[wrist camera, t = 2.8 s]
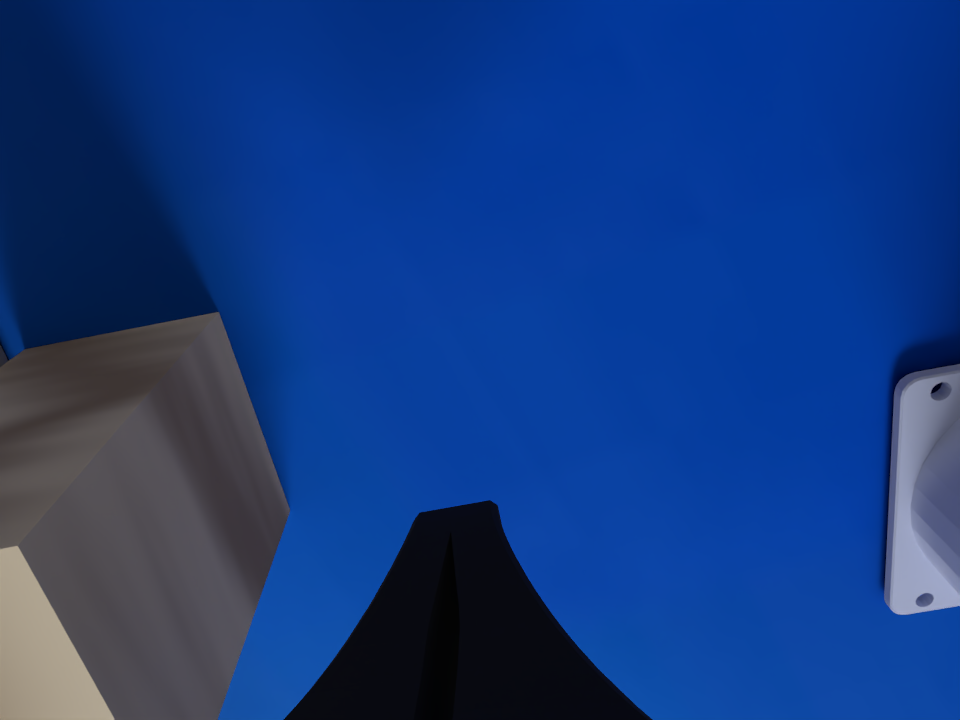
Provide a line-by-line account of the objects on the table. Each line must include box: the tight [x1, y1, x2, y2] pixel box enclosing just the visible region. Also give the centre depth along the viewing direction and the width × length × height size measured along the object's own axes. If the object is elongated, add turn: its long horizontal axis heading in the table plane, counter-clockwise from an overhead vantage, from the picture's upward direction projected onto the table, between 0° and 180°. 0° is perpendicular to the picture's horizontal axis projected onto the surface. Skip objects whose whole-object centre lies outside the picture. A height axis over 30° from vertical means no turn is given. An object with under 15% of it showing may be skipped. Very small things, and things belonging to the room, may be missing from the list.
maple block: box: [0, 312, 290, 720], centre depth 15 cm, size 5×6×9 cm
